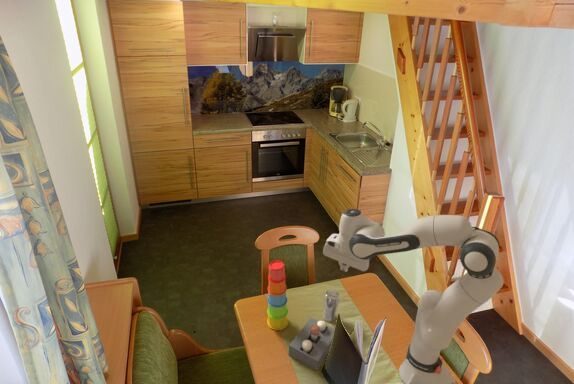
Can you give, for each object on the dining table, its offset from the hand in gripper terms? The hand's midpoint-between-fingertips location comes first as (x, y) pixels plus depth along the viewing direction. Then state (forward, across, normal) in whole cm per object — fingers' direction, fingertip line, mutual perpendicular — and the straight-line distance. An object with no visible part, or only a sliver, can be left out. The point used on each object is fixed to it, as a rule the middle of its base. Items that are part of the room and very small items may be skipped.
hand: (343, 270), depth 167 cm
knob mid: (+28, +3, +17) cm, 33 cm away
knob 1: (+32, +3, +23) cm, 40 cm away
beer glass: (+34, +5, -3) cm, 35 cm away
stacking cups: (+34, +24, +14) cm, 44 cm away
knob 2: (+32, +3, +10) cm, 33 cm away
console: (+34, +3, +17) cm, 38 cm away
